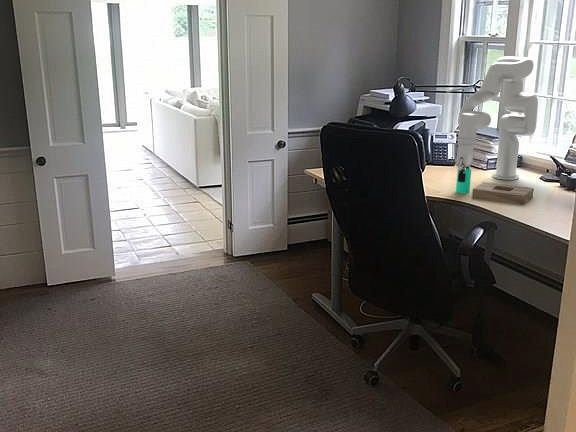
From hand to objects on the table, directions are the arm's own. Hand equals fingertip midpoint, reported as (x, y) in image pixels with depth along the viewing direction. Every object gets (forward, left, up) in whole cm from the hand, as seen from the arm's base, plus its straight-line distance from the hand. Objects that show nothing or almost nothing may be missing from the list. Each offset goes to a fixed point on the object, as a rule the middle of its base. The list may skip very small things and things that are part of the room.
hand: (463, 180), depth 278 cm
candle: (0, 0, -6) cm, 6 cm away
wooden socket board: (0, +18, -5) cm, 19 cm away
